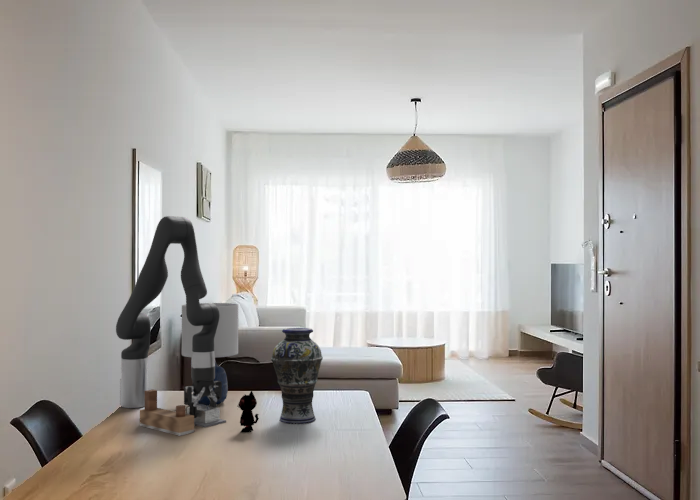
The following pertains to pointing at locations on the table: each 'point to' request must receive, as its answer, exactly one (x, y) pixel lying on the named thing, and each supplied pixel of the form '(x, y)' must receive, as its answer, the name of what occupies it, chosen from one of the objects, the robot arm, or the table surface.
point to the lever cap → (206, 414)
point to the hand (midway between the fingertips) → (203, 415)
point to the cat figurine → (247, 412)
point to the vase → (297, 374)
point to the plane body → (165, 417)
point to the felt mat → (209, 423)
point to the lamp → (215, 341)
